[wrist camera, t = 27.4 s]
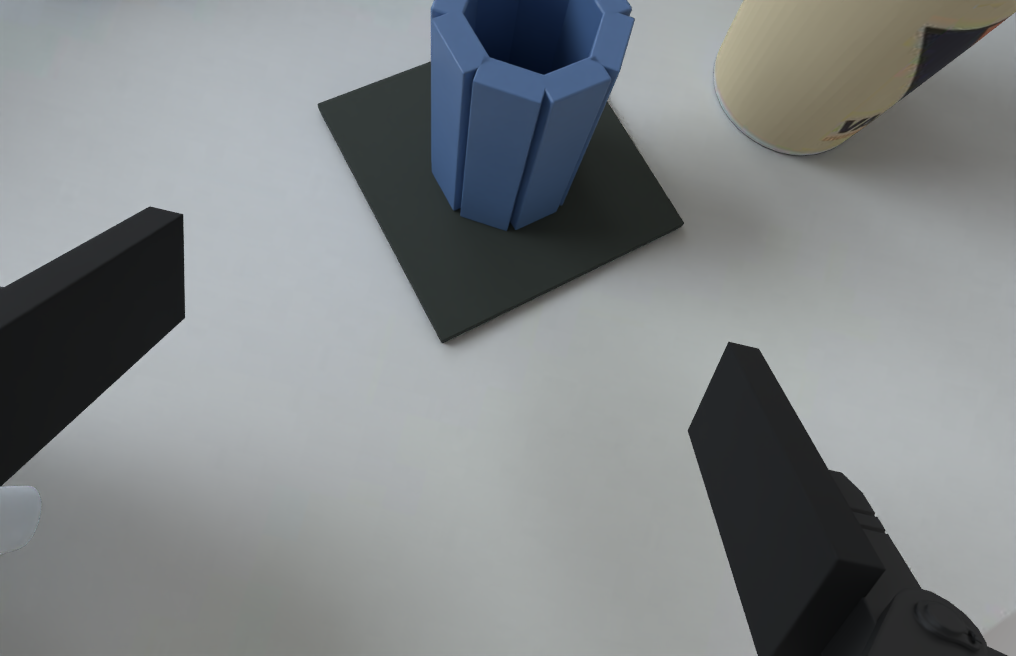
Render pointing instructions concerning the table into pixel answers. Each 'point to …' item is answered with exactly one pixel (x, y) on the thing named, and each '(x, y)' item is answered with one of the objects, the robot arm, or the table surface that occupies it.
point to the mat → (473, 245)
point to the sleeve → (519, 99)
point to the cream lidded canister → (837, 62)
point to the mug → (18, 516)
